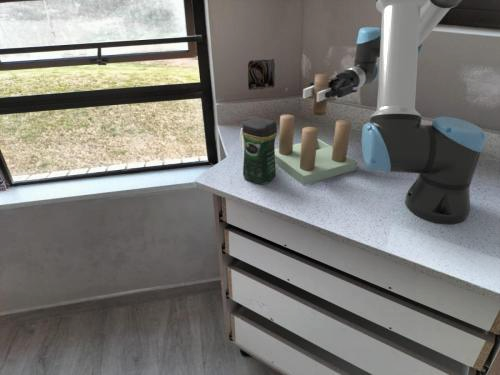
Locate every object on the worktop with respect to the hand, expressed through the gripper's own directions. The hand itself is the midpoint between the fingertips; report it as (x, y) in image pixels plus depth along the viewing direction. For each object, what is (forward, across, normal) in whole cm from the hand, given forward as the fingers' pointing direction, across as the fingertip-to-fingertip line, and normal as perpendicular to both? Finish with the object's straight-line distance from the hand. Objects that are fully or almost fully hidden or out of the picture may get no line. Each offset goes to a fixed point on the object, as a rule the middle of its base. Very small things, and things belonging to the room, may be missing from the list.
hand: (310, 95), depth 112 cm
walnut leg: (-5, 0, -7) cm, 9 cm away
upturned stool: (+3, -4, -21) cm, 22 cm away
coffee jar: (+21, +3, -21) cm, 30 cm away
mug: (+15, +11, -21) cm, 29 cm away
